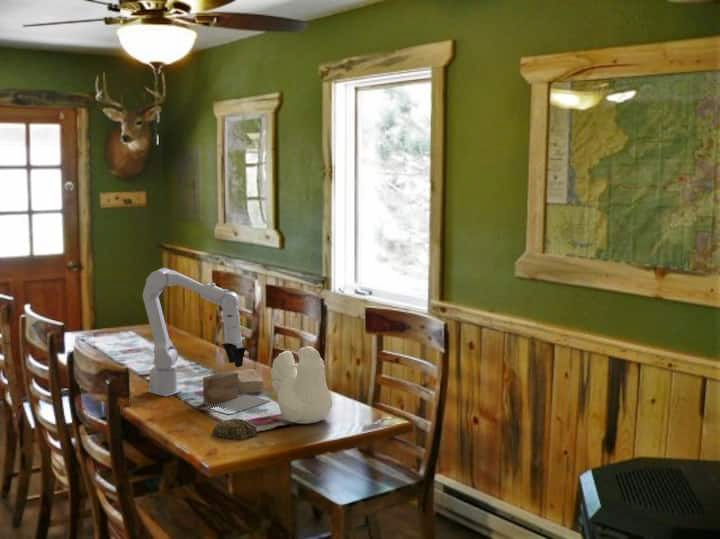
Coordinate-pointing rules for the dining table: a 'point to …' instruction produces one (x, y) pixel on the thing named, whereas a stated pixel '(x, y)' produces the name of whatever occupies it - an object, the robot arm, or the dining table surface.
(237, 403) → the spiral notebook
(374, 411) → the dining table surface
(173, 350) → the robot arm
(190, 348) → the dining table surface
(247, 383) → the brick
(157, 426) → the dining table surface
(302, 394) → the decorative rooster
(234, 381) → the block
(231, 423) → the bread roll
